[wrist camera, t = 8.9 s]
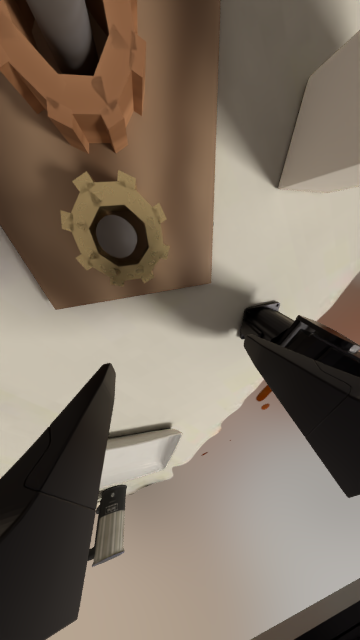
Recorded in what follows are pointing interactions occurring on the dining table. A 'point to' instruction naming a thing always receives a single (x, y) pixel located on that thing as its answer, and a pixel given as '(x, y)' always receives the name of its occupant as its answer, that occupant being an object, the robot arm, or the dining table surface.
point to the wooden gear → (95, 206)
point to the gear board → (108, 134)
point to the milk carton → (328, 127)
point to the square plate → (138, 455)
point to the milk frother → (109, 526)
